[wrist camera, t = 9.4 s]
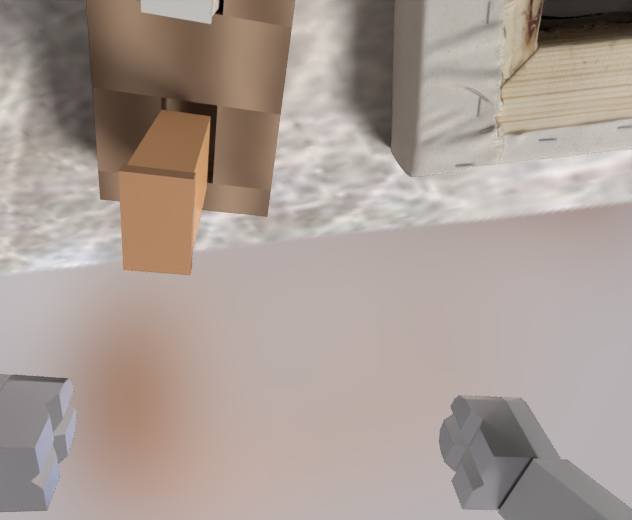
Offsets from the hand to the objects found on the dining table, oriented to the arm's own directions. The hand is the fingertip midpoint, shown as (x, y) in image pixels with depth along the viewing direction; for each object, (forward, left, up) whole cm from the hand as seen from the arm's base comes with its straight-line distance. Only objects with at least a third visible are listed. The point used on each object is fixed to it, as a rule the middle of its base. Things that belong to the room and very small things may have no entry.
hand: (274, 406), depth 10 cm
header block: (-5, +2, -32) cm, 32 cm away
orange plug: (-5, -3, -24) cm, 25 cm away
